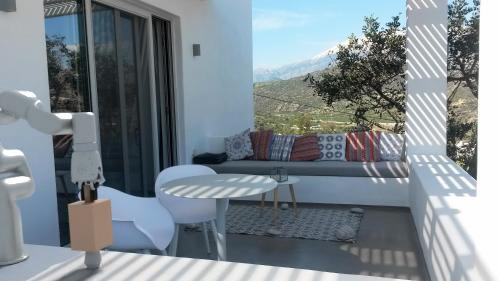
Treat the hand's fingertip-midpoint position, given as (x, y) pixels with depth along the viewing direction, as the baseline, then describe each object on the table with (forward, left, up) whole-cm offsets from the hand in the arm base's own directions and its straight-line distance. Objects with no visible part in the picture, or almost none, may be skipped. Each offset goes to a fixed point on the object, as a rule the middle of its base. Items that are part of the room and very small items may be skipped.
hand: (89, 199), depth 153 cm
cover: (0, 0, -17) cm, 17 cm away
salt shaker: (0, 0, -24) cm, 24 cm away
